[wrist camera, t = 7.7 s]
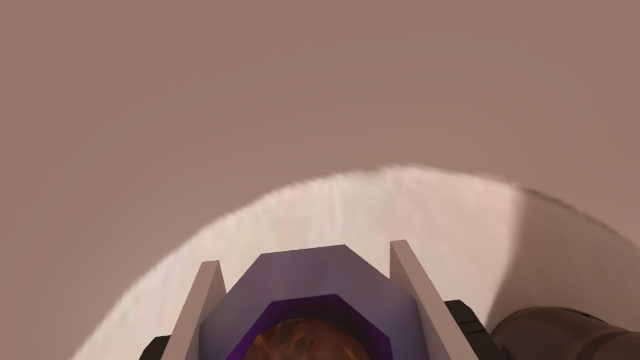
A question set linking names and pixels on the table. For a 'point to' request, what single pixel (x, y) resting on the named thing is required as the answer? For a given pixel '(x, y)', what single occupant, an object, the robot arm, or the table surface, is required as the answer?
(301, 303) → the potion bottle
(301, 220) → the table surface
